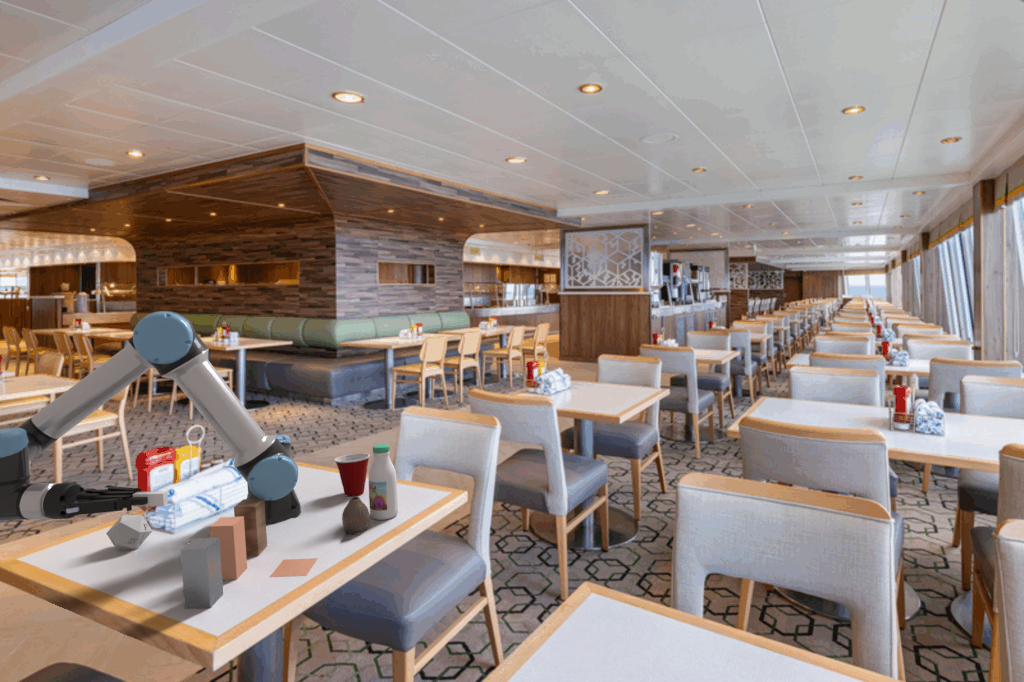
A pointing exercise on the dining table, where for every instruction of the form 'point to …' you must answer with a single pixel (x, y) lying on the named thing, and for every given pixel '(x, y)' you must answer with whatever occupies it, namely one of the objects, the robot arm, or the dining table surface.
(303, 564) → the terracotta coaster
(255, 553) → the walnut post
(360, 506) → the vase
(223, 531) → the terracotta post
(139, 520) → the die
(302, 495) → the dining table surface
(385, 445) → the milk bottle
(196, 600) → the grey post
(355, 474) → the plastic cup
